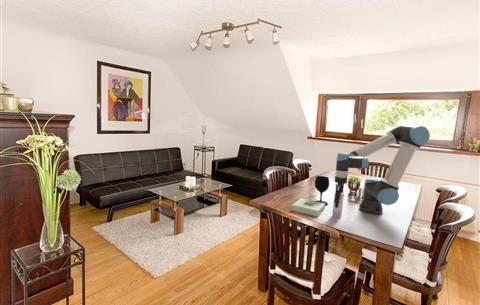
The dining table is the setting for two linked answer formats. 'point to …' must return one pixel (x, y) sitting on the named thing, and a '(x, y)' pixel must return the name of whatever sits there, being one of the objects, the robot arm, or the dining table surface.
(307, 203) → the socket plate
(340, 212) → the plug
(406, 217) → the dining table surface
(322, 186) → the wine glass
